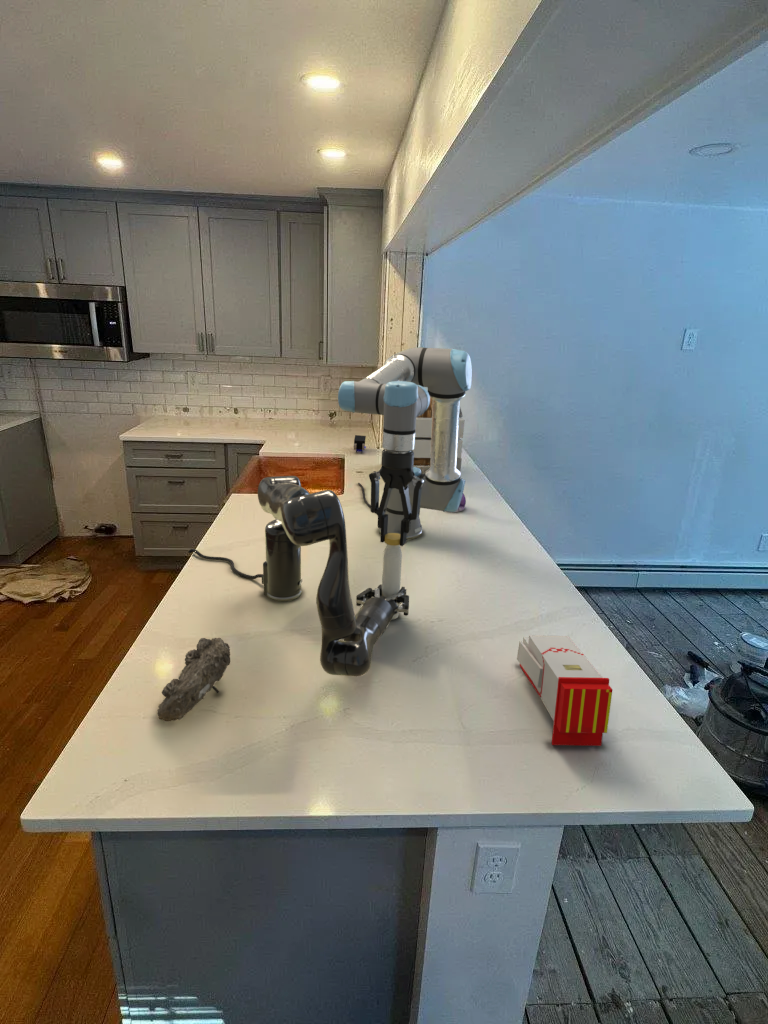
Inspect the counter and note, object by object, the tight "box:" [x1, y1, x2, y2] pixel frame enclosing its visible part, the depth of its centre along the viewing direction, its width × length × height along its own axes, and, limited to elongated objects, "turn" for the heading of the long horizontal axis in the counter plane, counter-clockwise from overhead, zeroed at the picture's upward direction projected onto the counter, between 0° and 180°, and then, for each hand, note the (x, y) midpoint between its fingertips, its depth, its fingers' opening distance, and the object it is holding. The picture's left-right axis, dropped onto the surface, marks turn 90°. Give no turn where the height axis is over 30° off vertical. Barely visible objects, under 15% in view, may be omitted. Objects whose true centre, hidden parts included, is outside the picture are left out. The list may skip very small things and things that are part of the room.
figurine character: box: [353, 434, 367, 454], centre depth 311 cm, size 7×8×15 cm
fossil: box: [157, 637, 231, 723], centre depth 113 cm, size 22×10×15 cm
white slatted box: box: [412, 397, 465, 472], centre depth 268 cm, size 34×33×41 cm
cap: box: [383, 533, 400, 546], centre depth 140 cm, size 4×4×2 cm
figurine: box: [454, 471, 467, 513], centre depth 225 cm, size 9×10×15 cm
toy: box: [516, 634, 613, 747], centre depth 116 cm, size 12×13×30 cm
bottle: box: [381, 544, 403, 621], centre depth 143 cm, size 5×5×22 cm
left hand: (393, 588), depth 147 cm, fingers closed on bottle, 4 cm apart
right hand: (393, 542), depth 140 cm, fingers closed on cap, 4 cm apart
